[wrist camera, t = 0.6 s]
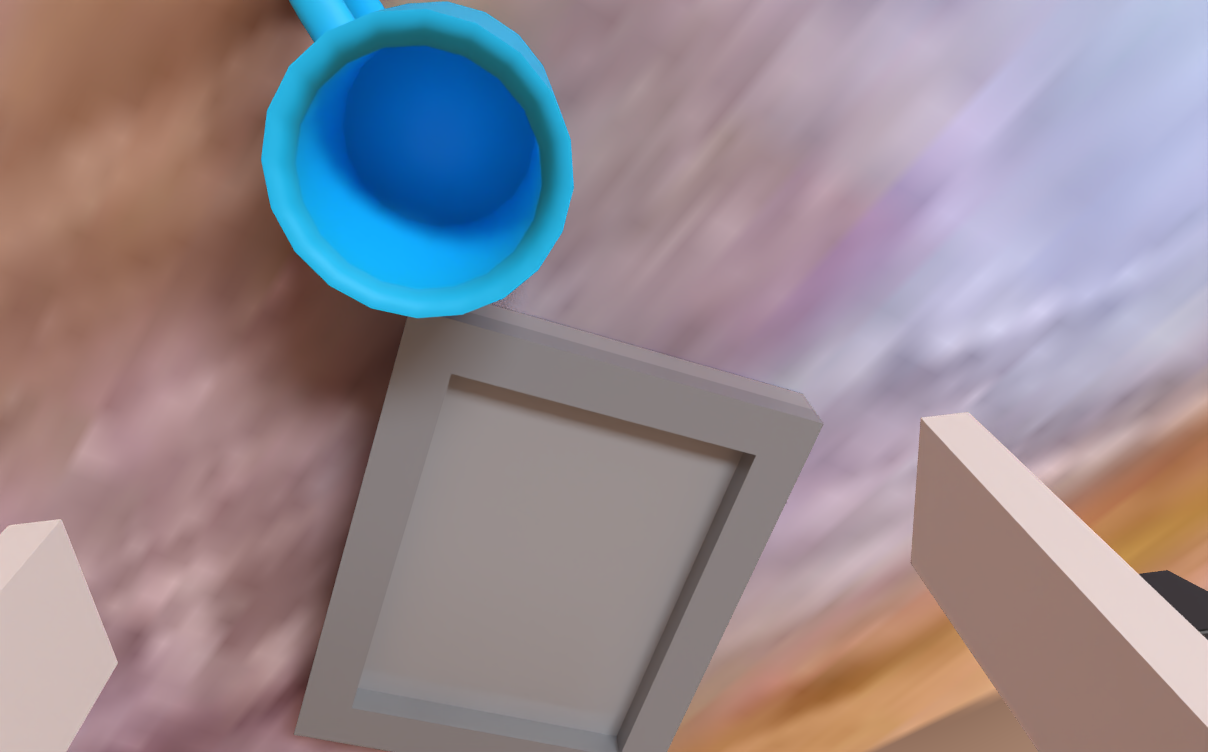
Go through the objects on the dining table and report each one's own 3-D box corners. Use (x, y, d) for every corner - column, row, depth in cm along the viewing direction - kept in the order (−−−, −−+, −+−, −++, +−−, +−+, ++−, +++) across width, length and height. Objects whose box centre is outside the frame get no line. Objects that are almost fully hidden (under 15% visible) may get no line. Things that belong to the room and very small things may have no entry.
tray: (307, 688, 40) (293, 734, 38) (417, 283, 33) (409, 307, 31) (638, 750, 44) (646, 795, 41) (802, 394, 37) (823, 423, 34)
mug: (602, 168, 32) (628, 225, 25) (412, 282, 33) (383, 368, 26) (409, -169, 28) (370, -224, 20) (195, -25, 29) (83, -27, 21)
